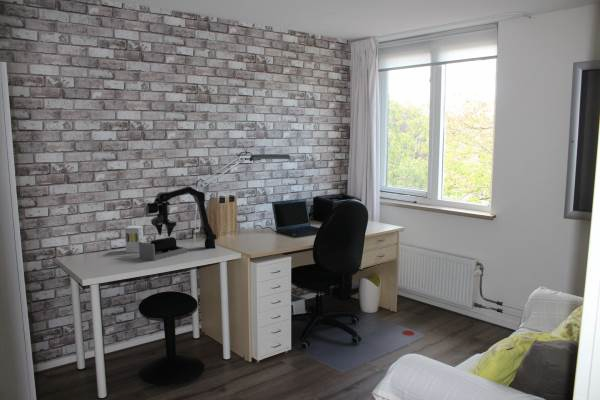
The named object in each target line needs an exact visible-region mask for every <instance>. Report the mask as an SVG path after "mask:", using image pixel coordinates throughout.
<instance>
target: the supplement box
mask: <svg viewBox="0 0 600 400" xmlns="http://www.w3.org/2000/svg"><path fill="white" fill-rule="evenodd" d="M124 235H125V236H124V239H125V253H126V254H128V253H130V254H131V253H135V254H137V253H139V242H143V243H145V242H144V226H143V225H128V226H126V227H124Z"/></svg>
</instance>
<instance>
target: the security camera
mask: <svg viewBox="0 0 600 400" xmlns="http://www.w3.org/2000/svg"><path fill="white" fill-rule="evenodd" d="M150 244H154V245H155V252H158V251H161V252H162V253H166V252H169V251H172V250H178V247H177V246H178V245H177V239H176V237H172V236H170V237H164V238H160V239H159V238H158V239H154V240H153V239H152V240H151V241H150ZM162 253H161V254H162Z"/></svg>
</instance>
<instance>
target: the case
mask: <svg viewBox="0 0 600 400" xmlns="http://www.w3.org/2000/svg"><path fill="white" fill-rule="evenodd" d="M177 247H178V250H172V251H169V252H166V253H162V252H161V251H158V252H155V245H154V244H151V243H149V242H148V243H147V242H144V243H143V242H139V258H140V259H143V260H150V261H153V262H154V261H155V262H156V261H158V260H162V259H167V258H170V257H174V256H178V255H181V254H186V253H188V247H185V246H178V245H177ZM161 253H162V254H161Z"/></svg>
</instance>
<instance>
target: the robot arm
mask: <svg viewBox="0 0 600 400" xmlns="http://www.w3.org/2000/svg"><path fill="white" fill-rule="evenodd" d="M186 194H189V195H190V196H192V197H193V199H194V202H195V204H196V205H197V208H198V209H197V210H198V212H199V218H200V221H201V227H199V231H200V234H201V235H202V237H204V239H205V240H204V248H205V249H216V239H217V237H218V236H217V235H216V234H215V233H214V231H213V228H212V227H211V224H209V220H208V214H207V209H206V205H205V202H206V195H205V193H204V191H199V190H197V189H195V188H194V187H192V186H185V187H181V188H178V189H174V190H171V191H163V192H158V193H157V194H156V198H155V199H154V201H153V202H147V203H146V206H145V212H146V214H147V215H148V214H149V215H150V214H156V216H155V217H153V218H152V219H150V223H151V225H152V226H153V227H154V228H156V230H157V232H158V235H159V236H162V233H163V232H162V231H163V225H164V226H165V228H166V230H167V238H169V237H171V234H172V233H173V231H174V228H175V227H176V226H177V221H176V220H170V219H169V216H170V213H169V211H168V206H169V205H171V203H170V202H169V200H171V199H173V198H175V197H178V196H183V195H186Z"/></svg>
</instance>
